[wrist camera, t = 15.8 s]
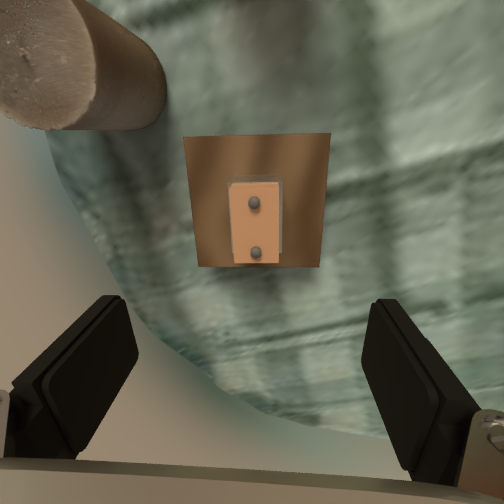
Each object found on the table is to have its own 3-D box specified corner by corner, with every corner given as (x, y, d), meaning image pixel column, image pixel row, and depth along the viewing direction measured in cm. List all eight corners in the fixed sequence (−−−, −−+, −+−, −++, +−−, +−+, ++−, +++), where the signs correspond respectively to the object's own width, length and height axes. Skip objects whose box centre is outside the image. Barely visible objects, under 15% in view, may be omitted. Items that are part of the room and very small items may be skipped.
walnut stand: (321, 133, 31) (330, 133, 27) (313, 250, 37) (319, 267, 33) (195, 136, 32) (183, 136, 27) (206, 250, 38) (198, 266, 34)
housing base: (280, 173, 28) (282, 181, 24) (280, 235, 31) (281, 252, 27) (234, 175, 29) (227, 182, 24) (237, 235, 32) (232, 253, 27)
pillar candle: (90, 14, 28) (-85, -98, 14) (178, 56, 29) (94, -11, 15) (78, 110, 32) (-66, 95, 18) (157, 145, 33) (74, 155, 19)
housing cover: (278, 183, 24) (279, 188, 22) (278, 254, 27) (279, 265, 24) (232, 184, 24) (228, 189, 22) (236, 254, 27) (233, 265, 25)
